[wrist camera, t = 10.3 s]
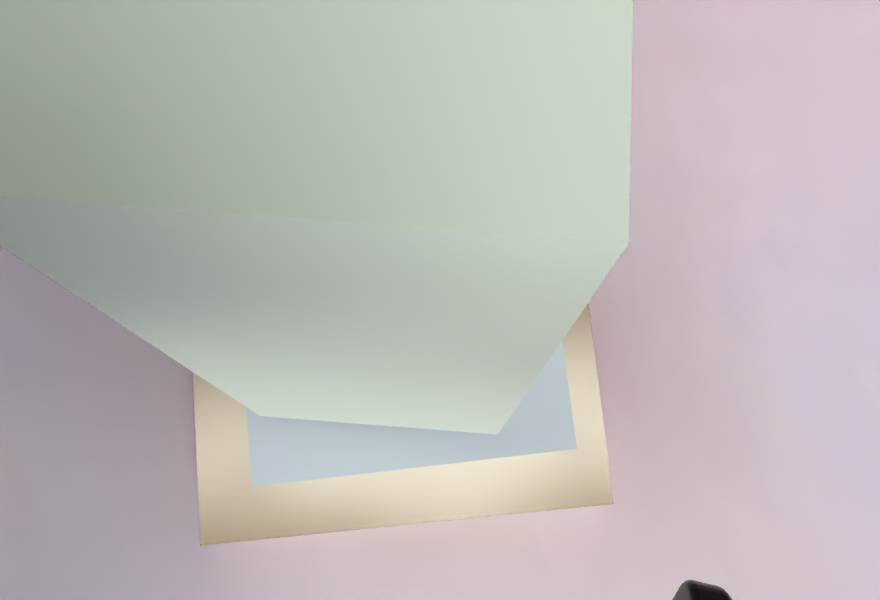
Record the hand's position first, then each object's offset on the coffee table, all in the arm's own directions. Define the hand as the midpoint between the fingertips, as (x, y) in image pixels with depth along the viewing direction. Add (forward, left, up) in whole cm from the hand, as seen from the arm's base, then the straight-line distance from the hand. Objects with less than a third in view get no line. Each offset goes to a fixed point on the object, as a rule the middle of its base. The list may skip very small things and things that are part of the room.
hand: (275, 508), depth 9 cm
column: (+3, -1, -8) cm, 9 cm away
